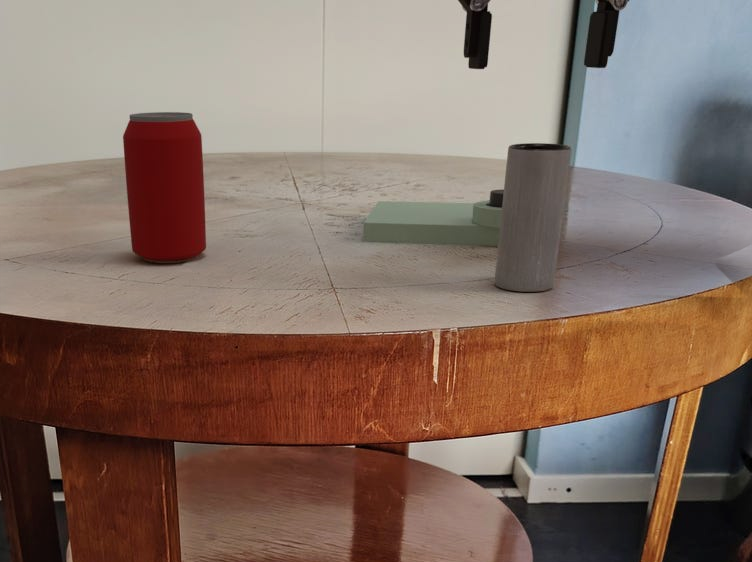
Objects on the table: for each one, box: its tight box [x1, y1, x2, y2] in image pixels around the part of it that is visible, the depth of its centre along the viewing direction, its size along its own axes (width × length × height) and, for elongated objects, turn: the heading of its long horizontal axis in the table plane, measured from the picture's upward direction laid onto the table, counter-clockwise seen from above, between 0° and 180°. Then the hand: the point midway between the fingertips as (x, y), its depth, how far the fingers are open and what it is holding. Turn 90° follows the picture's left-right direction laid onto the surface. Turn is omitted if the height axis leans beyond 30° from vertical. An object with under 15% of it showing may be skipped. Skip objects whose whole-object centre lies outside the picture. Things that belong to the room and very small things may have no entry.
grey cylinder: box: [494, 142, 573, 293], centre depth 69 cm, size 4×4×10 cm
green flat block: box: [362, 199, 502, 247], centre depth 90 cm, size 16×14×4 cm
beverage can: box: [122, 111, 207, 264], centre depth 79 cm, size 7×7×12 cm
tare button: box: [489, 188, 504, 208], centre depth 84 cm, size 3×3×2 cm
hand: (536, 67), depth 72 cm, fingers open, 9 cm apart
